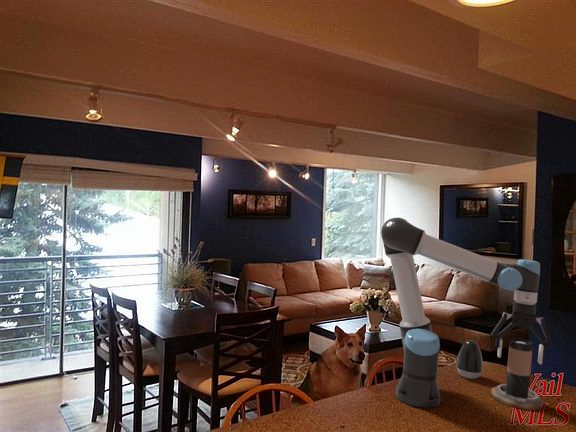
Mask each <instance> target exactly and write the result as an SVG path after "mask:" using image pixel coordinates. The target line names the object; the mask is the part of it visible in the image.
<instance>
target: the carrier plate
mask: <svg viewBox="0 0 576 432" xmlns="http://www.w3.org/2000/svg"><path fill="white" fill-rule="evenodd" d="M490 394H492V395H491V397H492V396H493V397H494V398H495V399H494V398H493V397H492V398H493V399H494V400H495V401H497V400H498V401H497V402H499V401H500V402H499V403H501V402H502V403H501V404H503V403H504V405H505V404H506V406H508V405H509V407H511V406H513V407H512V408H515V409H519V410H526V411H538V410H541V409H543V407H544V400H543V398H541V397H540V395H538V393H537V392H535V391H534V390H532V389H530V388H529V390H528V397H527V398H521V397H515V396H512V395H509V394H507V393H506V383H504V384H503V383H501V384H498V385H496V386H494V387H492V388H491V393H490Z"/></svg>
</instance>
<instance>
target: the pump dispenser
mask: <svg viewBox="0 0 576 432" xmlns="http://www.w3.org/2000/svg"><path fill="white" fill-rule="evenodd" d="M458 341H459V342H460V343H461V344H462V346H461V348H460V351H459V352H458V354H457V360H456V363H455V364H456V368H457V372H458V374H459V375H460V376H462V378H465V379H468V380H475V379H478V378H479V377H480V376H481V375H482V373H483V371H484V363H483V356H482V352H481V349H480V346H479V344H478V343H477V341H475V340H473V339H468V340H463V339H462V338H459V340H458Z"/></svg>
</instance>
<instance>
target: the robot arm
mask: <svg viewBox="0 0 576 432" xmlns="http://www.w3.org/2000/svg"><path fill="white" fill-rule="evenodd" d="M380 234H381V239H382V244H383V248H384V253H385V256H386V257H387V258H389V260H390V264H391V269H392V273H393V278H394V283H395V289H396V294H397V299H398V304H399V309H400V314H401V318H402V319H401V321H400V323H399V330H400V334H401V342H402V347H403V362H402V364H403V366H402V373H401V377H400V379H399V381H398V384H397V386H396V389H395V396H396V398H397V399H398V400H399V401H401V402H403V403H404V404H407V405H410V406H413V407H417V408H427V409H429V408H435V407H438V406H439V405H441V404H440V403H441V393H440V390H439V389H440V388H439V385H438V380H437V377H438V367H439V366H438V364H439V353H440V352H439V351H440V347H441V344H440V338H439V336H438V334H436V333H435V332H433V328H432V324H431V320H430V318H428V317H427V316H426V314H425V310H424V305H423V300H422V299H423V298H422V293H421V289H420V283H419V278H418V274H417V269H416V264H415V259H414V256H416V255H419V256H422V257H425V258H426V259H429V260H433V261H435V262H438V263H439V264H442V265H445V266H447V267H450V268H452V269H455V270H457V271H460V272H462V273H465V274H468V275H470V276H473V277H475V278H478V279H480V280H482V281H483V282H486V283H490V284H493V285H495V286H497V287H500V288H501V289H503V290H506V291H512V292H513V291H514V292H513V293H514V294H513V300H514V301H513V304H512V312H511V314H510V313H507V312H505V311H503V312H502V316H501V318H500V319H499V320H498V323H497V324H496V325H495V327H494V328H493V329H492V331H491V332H490V335H491V337H493V338H495V347H496V348H497V357H498V358H502V350H503V349H502V348H503V339H502V338H503V337H504V336H506V335H507V334H508V333H509V332H510V331H511V330H512V329H514V328H516V327H517V328H520V329H523V328H524V329H525V330H526V329H531V330H532V332H533V333H534V335H535V336H536V337H537V339H538V341H540V344H539V346H538V354H537V355H538V357H537V363H538V364H539V365H542V364H543V356H546V355H547V348H548V346H553V345H554V343H553V340H552V338H551V336H550V333H549V331H548V328H547V326H546V319H545V318H544V317H542V316H541V317H537V316H536V314H537V303H538V292H539V284H540V283H539V282H540V276H541V264H540V262H539V261H536V260H530V259H523V258H522V259H518V260H517V262H516V264H515V263H505V262H498V261H496V260H493V259H490V258H487V257H485V256H483V255H480V254H478V253H476V252H473V251H469V250H467V249H465V248H462V247H460V246H457V245H455V244H452V243H449V242H447V241H445V240H442V239H439V238H437V237H434V236H432V235H429V234H427V233H426V231H425V230H424V229H421V228H419V227H417V226H415V225H413V224H412V223H410V222H409V221H407V220H406V219H404V218H403V217H392V218H389V219H388V220H386V221H385V222H384V223H383V225H382V227H381V229H380ZM510 318H511V320H512V321H511V322H509V324H507V326H505V327H504V328H503V329H502V330H501V328H502V327H503V326H504V324H505V323H506V321H507V320H509V319H510ZM536 322H537V323H538V325H539V326H540V328H541V330H542V332H543V335H544V336H545V337H542V336H541V334H540V332H539V331H538V330H537V328H536V327H535V326H534V325H535V323H536ZM500 330H501V331H500ZM544 338H545V339H546V340H545V339H544Z"/></svg>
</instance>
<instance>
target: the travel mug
mask: <svg viewBox="0 0 576 432" xmlns="http://www.w3.org/2000/svg"><path fill="white" fill-rule="evenodd" d="M533 344H534V343H533V342H532V341H530V340H526V339H522V338H513V339H510V340H509V345H508V346H509V347H508V356H507V357H508V359H507V366H506V367H507V369H506V383H505V384H506V393H507V394H509V395H512V396H515V397H521V398H527V397H528V390H529V389H530V379H531V373H532V361H533V360H532V359H533V346H534V345H533Z"/></svg>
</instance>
